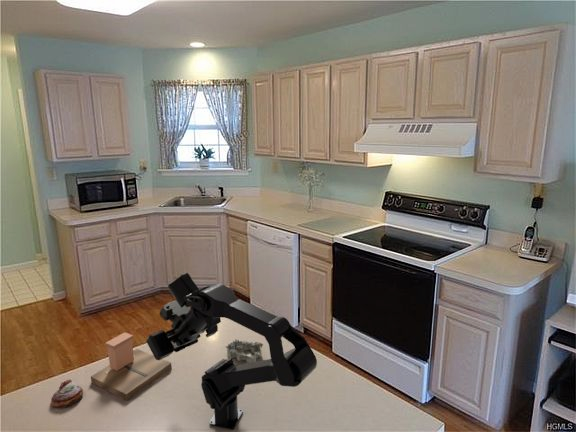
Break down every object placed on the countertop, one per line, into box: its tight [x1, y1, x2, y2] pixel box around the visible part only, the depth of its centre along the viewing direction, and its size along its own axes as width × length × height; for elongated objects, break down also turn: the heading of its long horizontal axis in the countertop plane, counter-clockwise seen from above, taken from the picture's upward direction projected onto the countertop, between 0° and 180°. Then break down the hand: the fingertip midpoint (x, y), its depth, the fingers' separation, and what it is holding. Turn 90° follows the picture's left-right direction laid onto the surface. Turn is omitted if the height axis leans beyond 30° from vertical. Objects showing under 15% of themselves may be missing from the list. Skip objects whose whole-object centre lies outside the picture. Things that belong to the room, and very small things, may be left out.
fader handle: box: [105, 331, 134, 371], centre depth 116 cm, size 4×7×8 cm, turn 150°
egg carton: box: [225, 339, 264, 364], centre depth 125 cm, size 11×8×4 cm
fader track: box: [90, 348, 172, 401], centre depth 116 cm, size 15×16×2 cm
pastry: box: [50, 379, 84, 409], centre depth 106 cm, size 8×8×5 cm
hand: (172, 349), depth 107 cm, fingers closed
